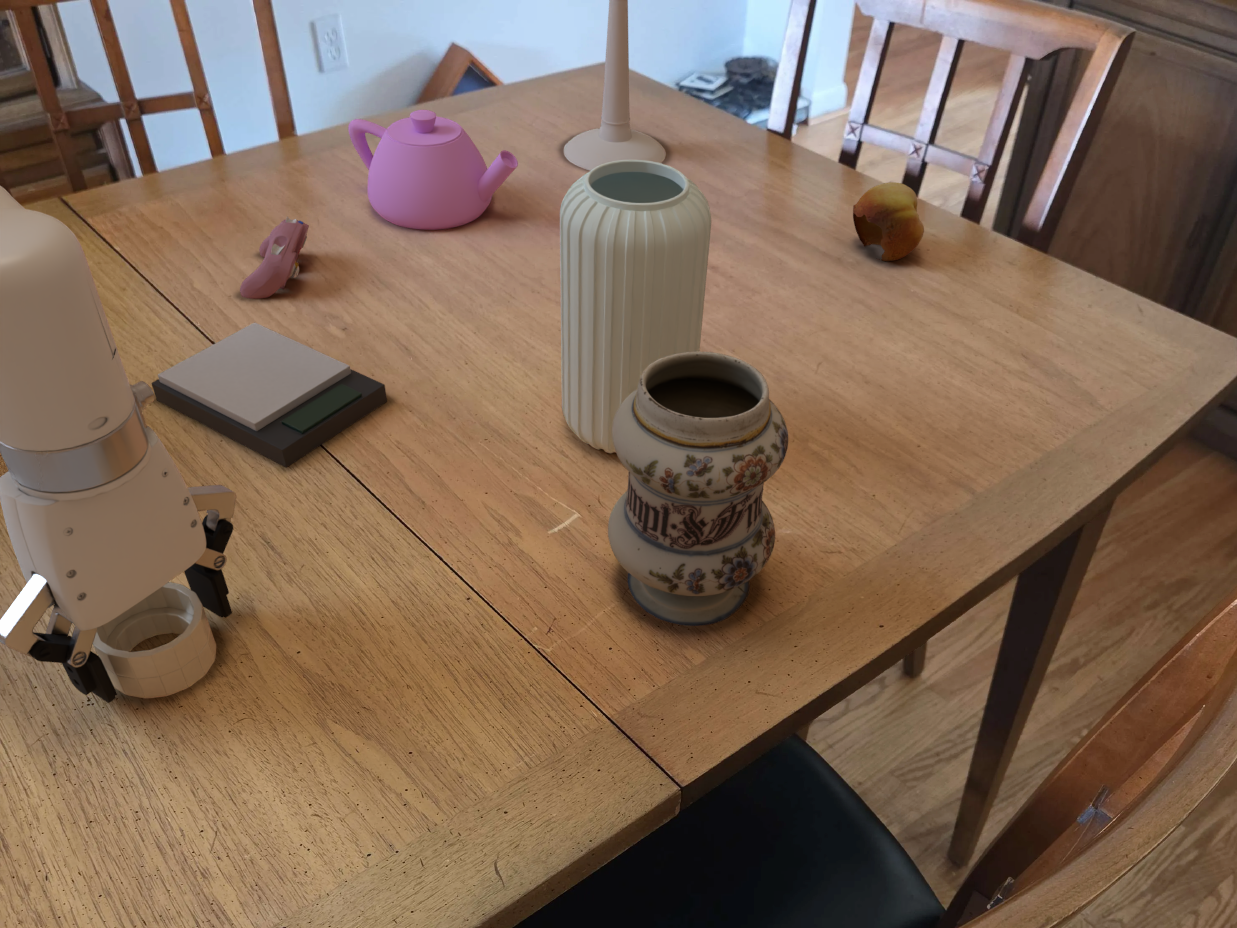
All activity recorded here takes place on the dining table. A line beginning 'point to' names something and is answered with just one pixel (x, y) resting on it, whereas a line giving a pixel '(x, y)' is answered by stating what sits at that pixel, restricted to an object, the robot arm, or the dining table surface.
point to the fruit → (889, 219)
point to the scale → (269, 393)
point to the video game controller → (276, 260)
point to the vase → (627, 284)
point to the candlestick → (614, 107)
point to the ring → (164, 664)
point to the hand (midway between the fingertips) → (158, 648)
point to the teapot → (428, 171)
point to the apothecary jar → (695, 485)
